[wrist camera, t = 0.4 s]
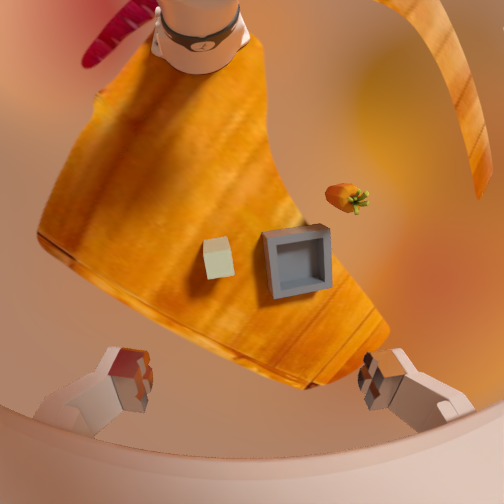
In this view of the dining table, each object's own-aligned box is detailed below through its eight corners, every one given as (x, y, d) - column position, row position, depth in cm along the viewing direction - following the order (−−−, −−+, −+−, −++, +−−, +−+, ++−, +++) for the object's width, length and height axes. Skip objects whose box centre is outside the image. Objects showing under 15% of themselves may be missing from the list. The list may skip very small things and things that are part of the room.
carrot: (324, 210, 57) (360, 224, 43) (311, 190, 56) (344, 198, 41) (342, 195, 57) (382, 205, 43) (329, 175, 55) (367, 179, 41)
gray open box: (261, 232, 57) (267, 238, 52) (320, 223, 58) (330, 228, 53) (268, 289, 60) (273, 299, 55) (323, 278, 61) (332, 287, 57)
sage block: (203, 240, 55) (203, 253, 47) (226, 236, 56) (230, 249, 47) (207, 262, 57) (207, 279, 48) (230, 258, 57) (234, 275, 49)
